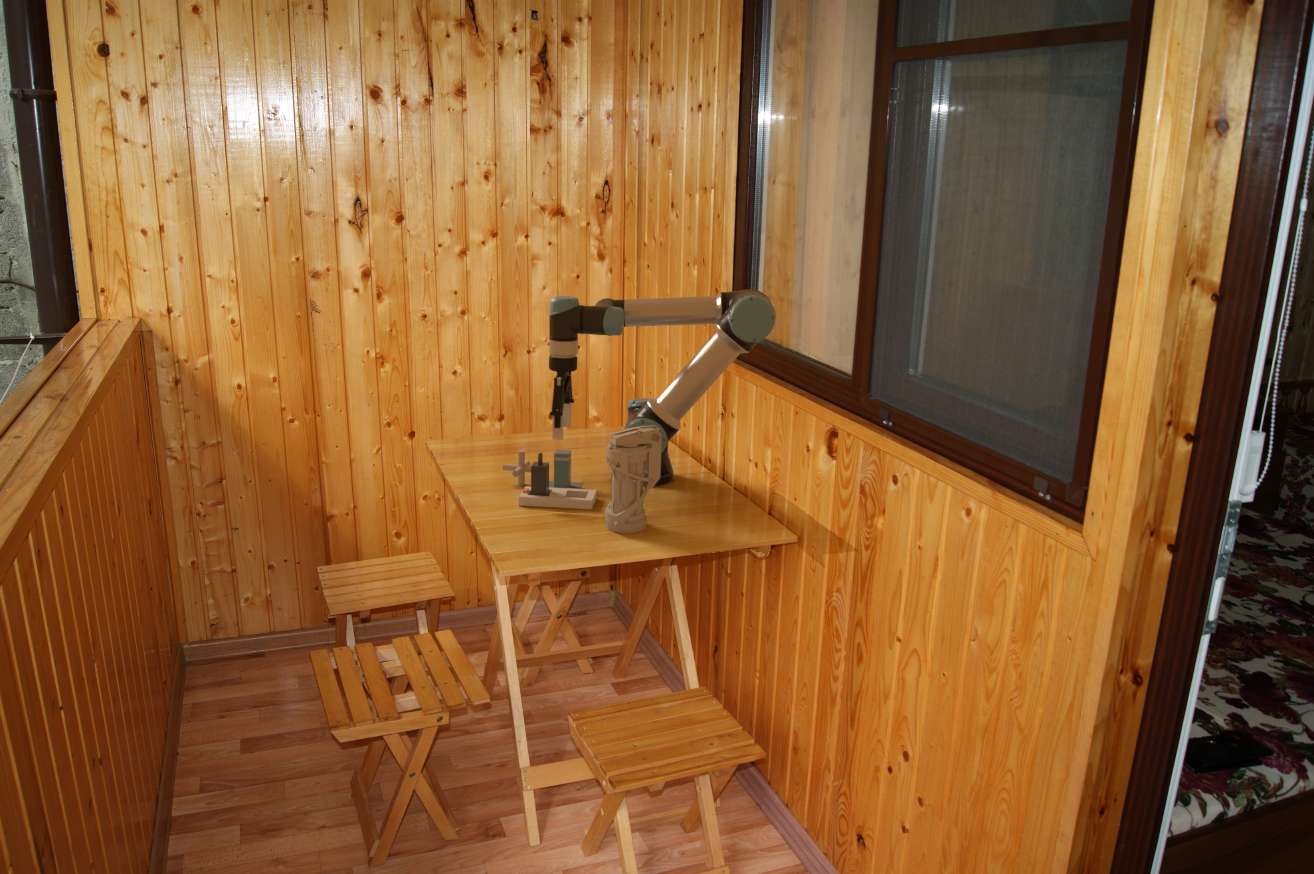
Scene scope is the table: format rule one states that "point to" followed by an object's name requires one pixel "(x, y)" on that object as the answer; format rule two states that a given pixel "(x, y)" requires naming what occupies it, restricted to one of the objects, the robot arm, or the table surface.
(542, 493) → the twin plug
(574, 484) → the pad
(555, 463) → the plug
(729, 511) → the table surface
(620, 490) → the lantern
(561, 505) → the power strip
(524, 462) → the pipe connector
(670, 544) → the table surface
